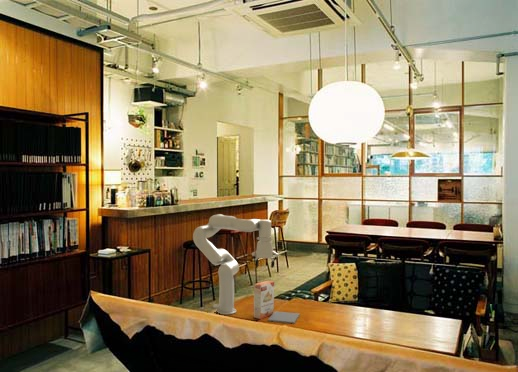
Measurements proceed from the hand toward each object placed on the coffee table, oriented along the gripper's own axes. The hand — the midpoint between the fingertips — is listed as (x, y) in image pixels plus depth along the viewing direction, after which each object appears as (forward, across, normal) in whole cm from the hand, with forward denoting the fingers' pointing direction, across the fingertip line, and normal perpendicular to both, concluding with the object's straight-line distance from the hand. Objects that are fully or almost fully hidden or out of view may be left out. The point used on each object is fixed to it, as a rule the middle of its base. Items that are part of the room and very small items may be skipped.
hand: (264, 267), depth 272 cm
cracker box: (+31, 0, 0) cm, 31 cm away
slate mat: (+31, +12, 0) cm, 33 cm away
